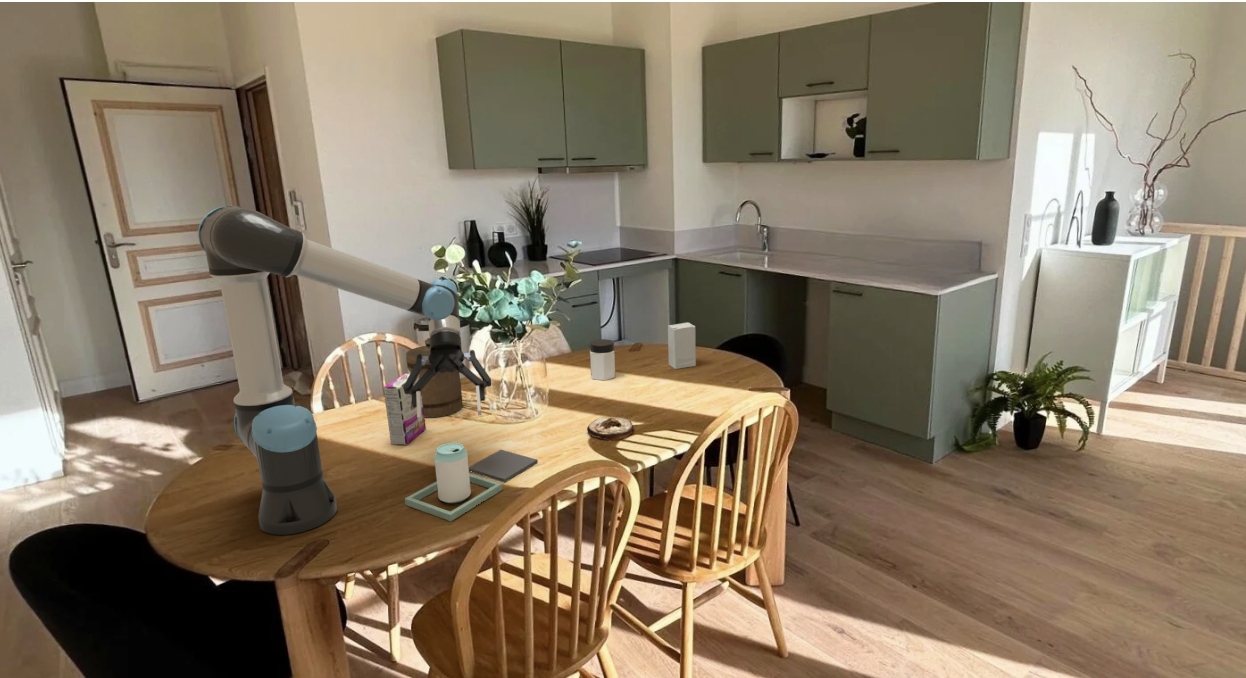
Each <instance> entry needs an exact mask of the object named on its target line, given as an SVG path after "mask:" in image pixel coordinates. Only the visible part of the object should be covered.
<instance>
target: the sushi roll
mask: <svg viewBox="0 0 1246 678" xmlns="http://www.w3.org/2000/svg"><path fill="white" fill-rule="evenodd" d="M633 427H634V425H633V423H632V420H630V419H628V418H625V417H616V416H607V417H606V416H605V417H604V416H603V417H599V418H596V419H594V420H593V421H592V422H590V423H589V424H588V426H587V428H586V431H587V434H588V435H589V437H591V438H594V439H597V440H605V441H608V442H609V443H610V442H612V441H613V442H615V441H620V440H623V439H625V438H627V437H629V436H631V435H633V432H632V430H633Z"/></svg>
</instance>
